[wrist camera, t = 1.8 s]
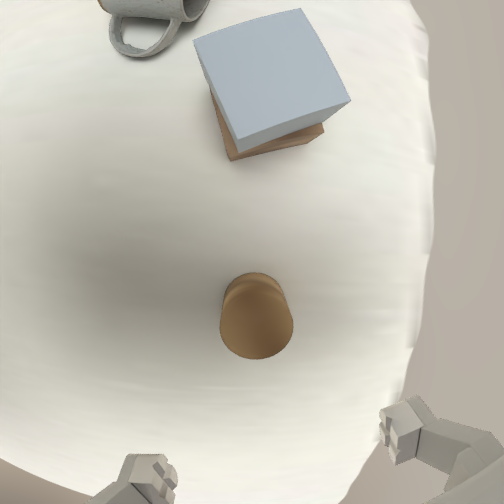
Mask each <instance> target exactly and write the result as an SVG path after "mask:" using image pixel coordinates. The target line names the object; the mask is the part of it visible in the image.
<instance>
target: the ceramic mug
mask: <svg viewBox="0 0 504 504" xmlns="http://www.w3.org/2000/svg"><path fill="white" fill-rule="evenodd" d="M98 2H99V4H100V6H101V7H102V9H103V10H105V11H106V12H108V13H110V14H112V18H111V20H110V25H109V37H110V41H111V43H112V45H113V46H114V48H115V49H116V50H117V51H118V52H120V53H122V54H124V55H127V56H132V57H147V56H151V55H154V54H156V53H158V52H160V51H161V50H163V49H164V48H165V47H166V46H167V45H168V44H169V43H170V42H171V40H172V39H173V37H174V36H175V34H176V32H177V30H178V28H179V26H180V24H181V23H182V22H192V21H195V20H196V19H197V18H198V17H199V16H200V15H201V14H202V13H203V11H204V9H205V8H206V6H207V5H208V2H209V0H98ZM123 17H147V18H155V19H165V20H170V24H169V26H168V28H167V29H166V31H165V33H164V34H163V36H162V37H161V39H160V40H159V41H158V42H157V43H155V44H154V45H153V46H152V47H150V48H148V49H147V50H143V49H138V48H135V47H132V46H131V45H130V44H124V43H123V41H122V39H121V31H120V29H121V23H122V19H123Z"/></svg>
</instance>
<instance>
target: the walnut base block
mask: <svg viewBox="0 0 504 504" xmlns="http://www.w3.org/2000/svg"><path fill="white" fill-rule="evenodd" d="M209 87H210V86H209ZM210 91H211V89H210ZM211 95H212V98H213V102H214V106H215V110H216V113H217V117H218V121H219V125H220V128H221V132H222V136H223V139H224V143H225V147H226V151H227V154H228V157H229V159H230V161H234V160H238V159H242V158H246V157H250V156H254V155H258V154H262V153H266V152H270V151H275V150H279V149H283V148H288V147H292V146H297V145H302V144H307V143H309V142H310V141H312V140H313V139H315V138H316V137H318V136H319V135H321V134H322V133H324V129H323V125H322V123H319V124H316V125H313V126H310V127H307V128H304V129H301V130H298V131H296V132H293V133H290V134H287V135H285V136H282V137H279V138H276V139H274V140H271V141H269V142H266V143H263V144H261V145H258V146H256V147H253V148H251V149H248V150H246V151H243V152H241V153H239V152H238V150H237V147H236V145H235V143H234V140H233V138H232V136H231V134H230V131H229V129H228V127H227V124H226V122H225V120H224V118H223V115H222V113H221V111H220V109H219V106H218V104H217V102H216V100H215V98H214V95H213V93H212V91H211Z"/></svg>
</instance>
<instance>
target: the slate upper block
mask: <svg viewBox="0 0 504 504" xmlns="http://www.w3.org/2000/svg"><path fill="white" fill-rule="evenodd" d="M193 43H194V46H195V49H196V52H197V55H198V58H199V61H200V64H201V66H202V69H203V72H204V75H205V78H206V80H207V82H208V84H209V86H210V89H211V91H212V93H213V95H214V98H215V100H216V102H217V104H218V106H219V109H220V111H221V113H222V115H223V118H224V120H225V122H226V124H227V127H228V129H229V131H230V134H231V136H232V138H233V140H234V143H235V145H236V147H237V150H238V152H239V153H241V152H243V151H246V150H248V149H251V148H253V147H256V146H258V145H261V144H263V143H266V142H269V141H271V140H274V139H276V138H279V137H282V136H285V135H287V134H290V133H293V132H296V131H298V130H301V129H304V128H307V127H310V126H313V125H316V124H319V123H322V122H324V121H325V120H326V119H328V118H329V117H330V116H332V115H333V114H334V113H336V112H337V111H338V110H339V109H341V108H342V107H343V106H345V105H346V104H347V103H349V102H350V101H351V99H350V97H349V95H348V93H347V91H346V89H345V86H344V84H343V82H342V80H341V78H340V76H339V74H338V72H337V70H336V68H335V66H334V65H333V63H332V61H331V59H330V57H329V55H328V53H327V51H326V50H325V48H324V46H323V44H322V42H321V41H320V39H319V37H318V36H317V34H316V32H315V30H314V29H313V27H312V25H311V24H310V22H309V20H308V19H307V17H306V16H305V14H304V12H303V11H302V9H301V8H299V9H294V10H289V11H285V12H280V13H276V14H272V15H268V16H264V17H260V18H257V19H253V20H250V21H246V22H243V23H240V24H236V25H233V26H230V27H227V28H224V29H221V30H218V31H215V32H213V33H210V34H207V35H205V36H202V37H199V38H197V39H194V40H193Z"/></svg>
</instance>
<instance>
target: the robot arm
mask: <svg viewBox="0 0 504 504" xmlns="http://www.w3.org/2000/svg"><path fill="white" fill-rule="evenodd" d="M379 417H380V419H381V423H380V424H379V428H380V435H381V438H382V441H383V443H384V444H385V446H387V447H389V455H390V457H391V459H392V461H393V463H394V465H398V464H400V463H403V462H405V461H407V460H410V459H412V458H415V457H416V458H417V459H419V460H421V461H423V462H425V463H426V464H428V465H430V466H432V467H434V468H437V469H438V470H440V471H443V472H445V473H447V474H449V475H450V476H449V478H448V480H447V483H446V485H445V487H444V491H445V493H443V494H441V495H439V496H437V497H435V498H433V499H431V500H429V501H427V502H425V503H423V504H504V448H503V446H502V445H501V444H500V443H499V441H498V440H497V439H496V438H495V437H494V436H493V434H492V433H491V432H488V431H484V430H480V429H477V428H473V427H469V426H465V425H462V424H459V423H455V422H452V421H448V420H445V419H442V418H440V419H438V420H437V418H436V417H435V416H434V414H432V412H431V410H430V409H429V408H428V407H427V405H426V404H425V403H424V401H423V400H422V399H421V398H420V396H419V395H414V396H412V397H410V398H408V399H405V400H403V401H400V402H398V403H396V404H393V405H391V406H388V407H386V408H383V409H381V410H380V412H379ZM167 461H168V459H167V458H166V456H165V455H164V454H128V455H127V456H126V458H125V461H124V463H123V466H122V469H121V471H120V474H119V476H118V479H117V482H112V483H111V484H110V485H109V486H107V487H106V488H105V489H103V490H102V491H101V492H99V493H98V494H97V495H95V496H94V497H93V498H91V499H90V500H89V501H87V502H86V503H84V504H174V499H175V493H174V492H173V489H174V488H175V487H177V483H178V477H177V473H176V470H175V468H174V467H173V466H172V465H170V464H168V463H167Z"/></svg>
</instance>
